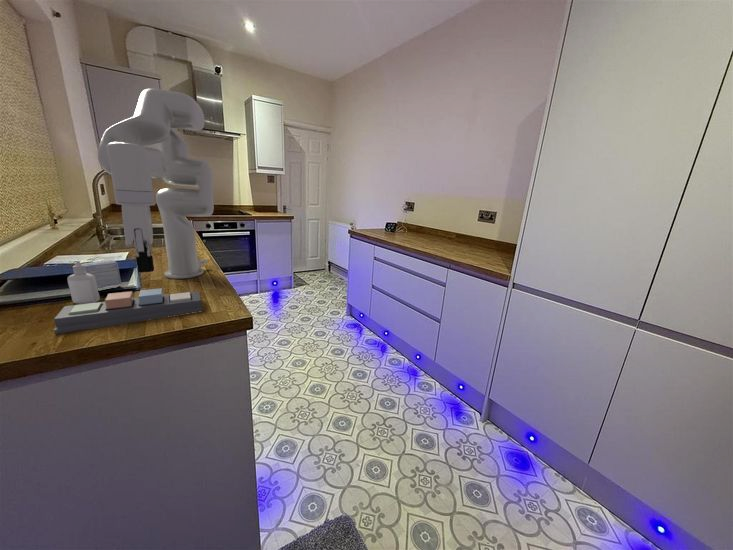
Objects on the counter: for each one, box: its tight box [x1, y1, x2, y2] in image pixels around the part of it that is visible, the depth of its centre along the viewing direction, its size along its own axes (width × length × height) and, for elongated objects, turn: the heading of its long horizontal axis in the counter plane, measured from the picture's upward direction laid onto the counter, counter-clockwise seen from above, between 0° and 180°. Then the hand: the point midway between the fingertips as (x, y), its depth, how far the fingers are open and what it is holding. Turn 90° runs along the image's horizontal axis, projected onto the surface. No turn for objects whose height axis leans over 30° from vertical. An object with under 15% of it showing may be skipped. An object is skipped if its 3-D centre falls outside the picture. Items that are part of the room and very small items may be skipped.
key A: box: [170, 291, 191, 303], centre depth 81 cm, size 5×5×2 cm
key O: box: [104, 291, 134, 309], centre depth 74 cm, size 5×5×2 cm
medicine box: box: [81, 259, 122, 288], centre depth 90 cm, size 8×4×9 cm, turn 149°
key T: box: [137, 287, 164, 305], centre depth 77 cm, size 5×5×2 cm
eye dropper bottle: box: [66, 260, 101, 305], centre depth 80 cm, size 4×6×12 cm
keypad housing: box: [53, 290, 203, 335], centre depth 76 cm, size 29×11×3 cm, turn 123°
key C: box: [70, 301, 102, 315], centre depth 71 cm, size 5×5×2 cm
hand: (146, 271), depth 75 cm, fingers closed
